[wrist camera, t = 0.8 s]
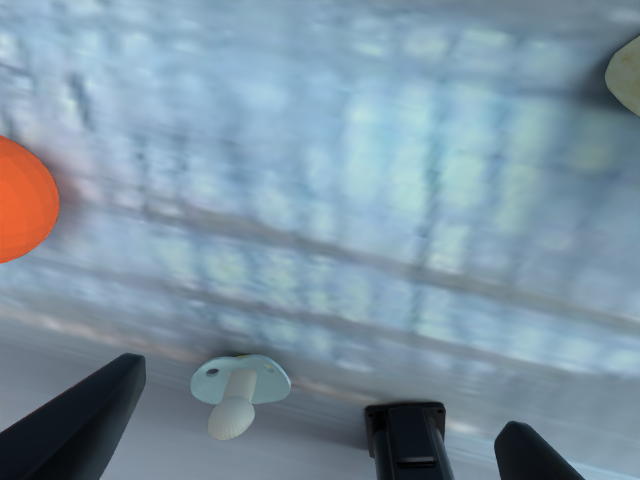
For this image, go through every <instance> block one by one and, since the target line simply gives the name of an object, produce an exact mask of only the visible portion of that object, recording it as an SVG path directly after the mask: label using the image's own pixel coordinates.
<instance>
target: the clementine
mask: <svg viewBox="0 0 640 480" xmlns="http://www.w3.org/2000/svg"><path fill="white" fill-rule="evenodd" d="M59 210H60V205H59V195H58V189H57V186H56V183H55V180H54V178H53V177H52V175H51V174H50V172H49V170H48V169H47V167H46V166H45V165H44V164H43V163H42V162H41V161H40V160H39V159H38V158H37V157H36V156H34V155H33V154H32V153H30V152H29V151H28V150H26V149H25V148H23V147H22V146H20V145H19V144H17V143H15V142H13V141H11V140H9V139H7V138H5V137H3V136H1V135H0V264H1V263H5V262H9V261H11V260H13V259H16V258H18V257H20V256H23V255H25V254H26V253H28V252H29V251H31V250H32V249H34V248H35V247H36V246H38V245H39V244H40V243H41V242H42V241H44V240H45V239H46V237H47V236H48V235H49V233H50V232H51V230H52V229H53V227H54V225H55V223H56V221H57V218H58V214H59Z"/></svg>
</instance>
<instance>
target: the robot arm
mask: <svg viewBox="0 0 640 480" xmlns="http://www.w3.org/2000/svg"><path fill="white" fill-rule="evenodd" d="M145 382H146V369H145V358H144V356H143V355H139V354H133V353H125V354H123V355H121V356H119V357H118V358H116V359H115V360H113V361H112V362H110V363H108V364H107V365H105V366H104V367H102V368H101V369H99V370H97V371H96V372H94V373H93V374H91V375H90V376H88V377H87V378H85V379H83V380H82V381H80V382H79V383H77V384H76V385H74V386H73V387H71V388H69V389H68V390H66V391H65V392H63V393H62V394H60V395H59V396H57V397H55V398H54V399H52V400H51V401H49V402H48V403H46V404H44V405H43V406H41V407H40V408H38V409H37V410H35V411H34V412H32V413H30V414H29V415H27V416H26V417H24V418H23V419H21V420H20V421H18V422H16V423H15V424H13V425H12V426H10V427H9V428H7V429H5V430H4V431H2V432H1V433H0V480H99V479H100V477H101V476H102V474H103V472H104V470H105V469H106V467H107V465H108V463H109V461H110V460H111V458H112V456H113V454H114V451H115V449H116V447H117V445H118V443H119V441H120V439H121V437H122V434H123V432H124V430H125V428H126V426H127V424H128V421H129V419H130V417H131V415H132V413H133V411H134V408H135V406H136V404H137V402H138V400H139V398H140V395H141V393H142V391H143V389H144V386H145ZM445 415H446V410H445V407H444V405H443V404H442V403H429V404H413V405H396V406H379V407H368V408H366V410H365V416H366V426H367V435H368V444H369V453H370V457H372V458H375V464H376V473H377V480H455V479H454V476H453V472H452V469H451V466H450V462H449V459H448V456H447V453H446V449H445V446H444V433H445ZM494 450H495V455H496V459H497V464H498V468H499V473H500V477H501V480H585V479H584V478H583V477H582V476H581V475H580V474H579V473H578V472H577V471H576V470H575V469H574V468H573V467H572V466H571V465H570V464H569V463H568V462H567V461H566V460H565V459H564V458H563V457H562V456H561V455H559V454H558V453H557V452H556V451H555V450H554V449H553V448H552V447H551V446H550V445H549V444H548V443H547V442H546V441H545V440H544V439H543V438H542V437H541V436H540V435H539V434H538V433H537V432H536V431H535V430H534V429H533V428H532V427H531V426H529V425H528V424H526V423H522V422H517V421H509V422H508V423H507V424H506V425H505V427H504V428H503V429H502V431H501V432H500V434H499V435H498V436H497V438H496V439H495V443H494Z"/></svg>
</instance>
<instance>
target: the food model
mask: <svg viewBox="0 0 640 480" xmlns="http://www.w3.org/2000/svg"><path fill="white" fill-rule="evenodd" d="M605 80H606V84H607V87H608V89H609V90H610V91H611V92H612V93H613V95H614V96H615V97H616V98H617V99H618V100H619V101H620V102H621V103H622V104H623V105H624V106H625V107H627V108H628V109H629V110H631V111H632V112H633V113H635V114H636V115H637V116H639V117H640V36H638V37H637V38H635V39H634V40H632V41H631V42H630V43H628V44H627V45H625V46H624V47H623V48H622V49H620V50H619V51H618V52H616V53H615V54H614V56H613V57H612V59H611V61H610V62H609V65H608V68H607V70H606V73H605Z"/></svg>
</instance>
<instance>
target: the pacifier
mask: <svg viewBox="0 0 640 480" xmlns="http://www.w3.org/2000/svg"><path fill="white" fill-rule="evenodd" d="M210 369H218V370H219V371H218V372H217V373H215V374H209V373H207V371H208V370H210ZM290 388H291V381H290V379H289V377H288V376H287V374H286V373H285V371H284V370H283V369H282V368H281V366H280V365H279V364H277V363H276V362H275V361H274V360H272V359H270V358H268V357H266V356H263V355H258V354H256V355H241V356H237V357H228V356H224V357H217V358H214V359H211V360H209V361H207V362H205V363H204V364H202V365H201V366H200V367H199V368H198V369H197V370H196V372H195V373H194V375H193V377H192V379H191V382H190V390H191V392H192V395H193V396H194V397H195V398H197V399H198V400H200V401H203V402H206V403H208V404H216V406H215V407H214V409H213V410H212V412H211V414H210V416H209V418H208V423H207V429H208V433H209V435H210V436H211V437H212V438H214V439H216V440H229V439H232V438H235V437H237V436H239V435H240V434H242V433H243V432H244V431H246V430H247V429H248V427H249V426H250V425H251V423H252V422H253V420H254V416H255V411H254V407H253V405H252V404H262V403H268V402H277V401H282V400H284V399H286V398H287V397H288V395H289V393H290Z"/></svg>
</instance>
